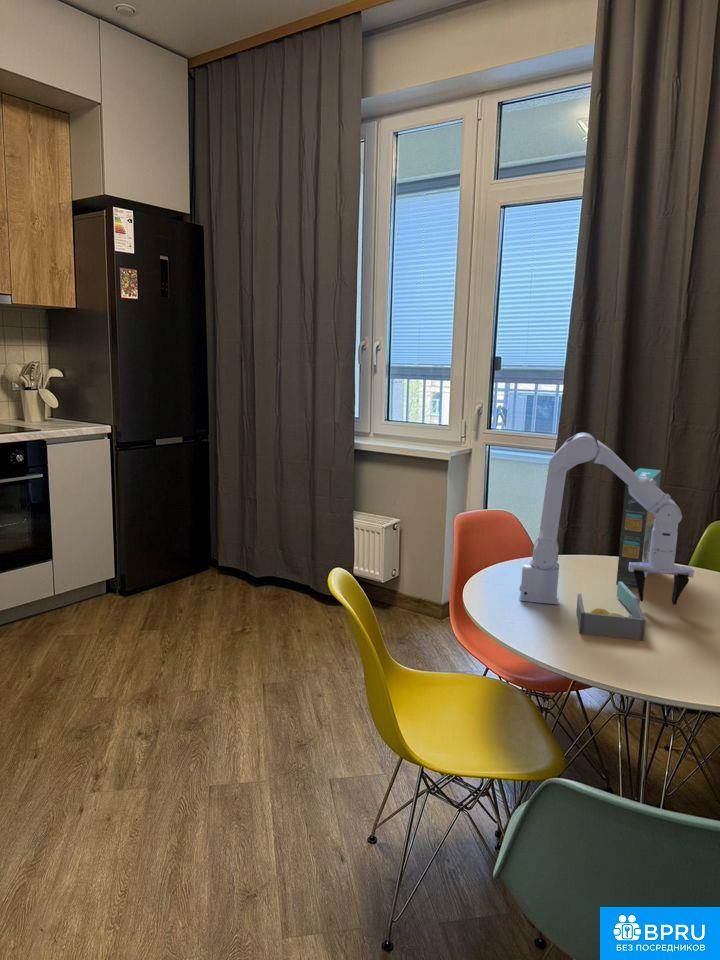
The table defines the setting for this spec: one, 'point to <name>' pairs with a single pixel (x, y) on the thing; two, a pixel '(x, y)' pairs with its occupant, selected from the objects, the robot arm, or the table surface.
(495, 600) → the table surface
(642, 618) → the grey open box
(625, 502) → the cake mix box
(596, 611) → the bread roll
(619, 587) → the teal flat bar
